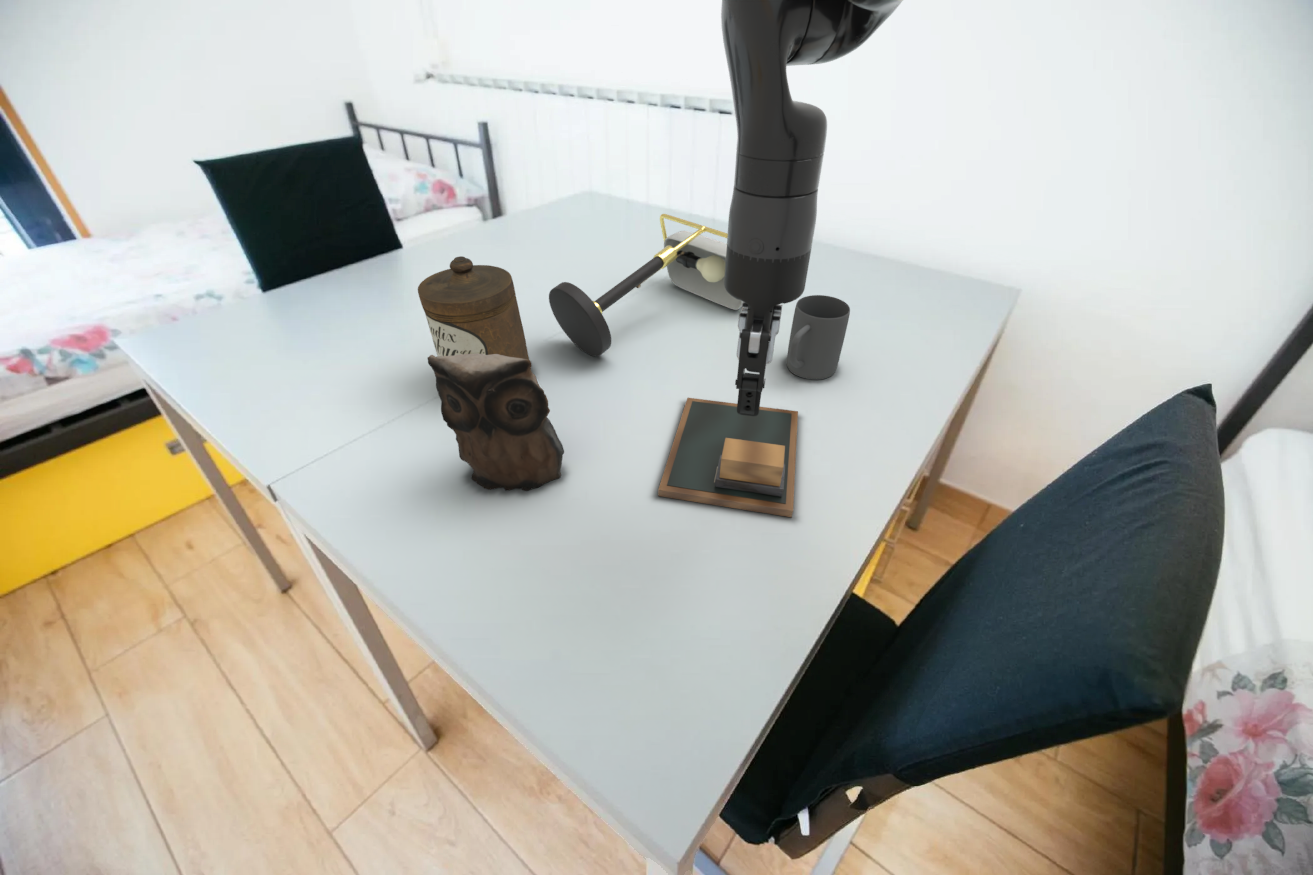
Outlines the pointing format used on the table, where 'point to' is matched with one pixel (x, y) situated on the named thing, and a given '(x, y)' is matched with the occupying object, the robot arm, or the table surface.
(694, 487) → the board
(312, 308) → the table surface
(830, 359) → the mug
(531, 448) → the owl
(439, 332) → the wooden container
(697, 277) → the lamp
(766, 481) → the eraser
